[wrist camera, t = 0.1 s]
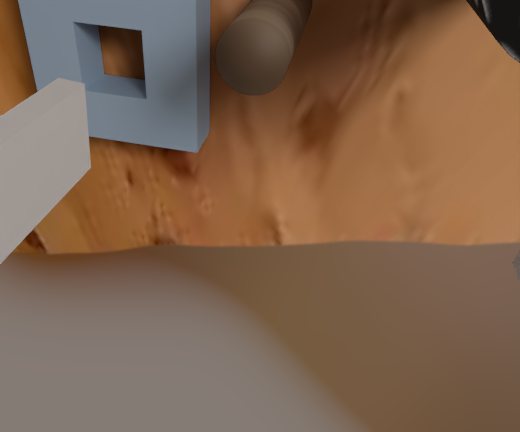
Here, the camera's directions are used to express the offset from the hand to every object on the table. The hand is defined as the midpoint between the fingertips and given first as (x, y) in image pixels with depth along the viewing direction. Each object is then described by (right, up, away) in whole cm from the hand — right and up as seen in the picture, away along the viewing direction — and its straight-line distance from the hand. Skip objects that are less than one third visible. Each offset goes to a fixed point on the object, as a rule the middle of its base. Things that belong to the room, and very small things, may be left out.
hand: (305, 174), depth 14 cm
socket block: (-12, +13, +28) cm, 33 cm away
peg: (+1, +15, +24) cm, 28 cm away
